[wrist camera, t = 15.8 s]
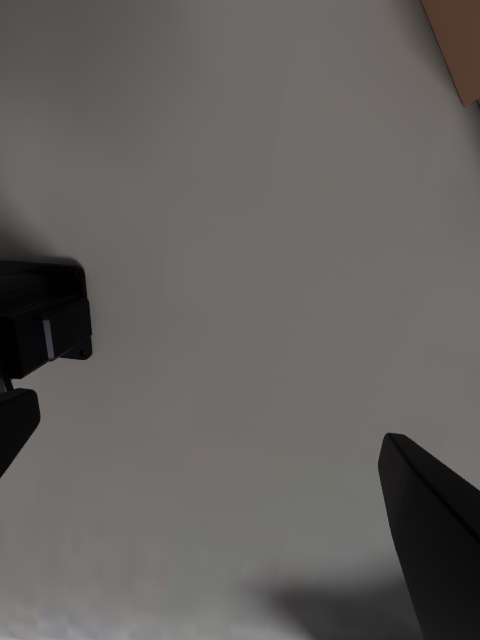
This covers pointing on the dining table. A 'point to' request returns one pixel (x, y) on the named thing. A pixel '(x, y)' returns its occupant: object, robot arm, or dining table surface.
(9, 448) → the robot arm
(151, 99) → the dining table surface
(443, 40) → the dock unit
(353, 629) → the dining table surface
